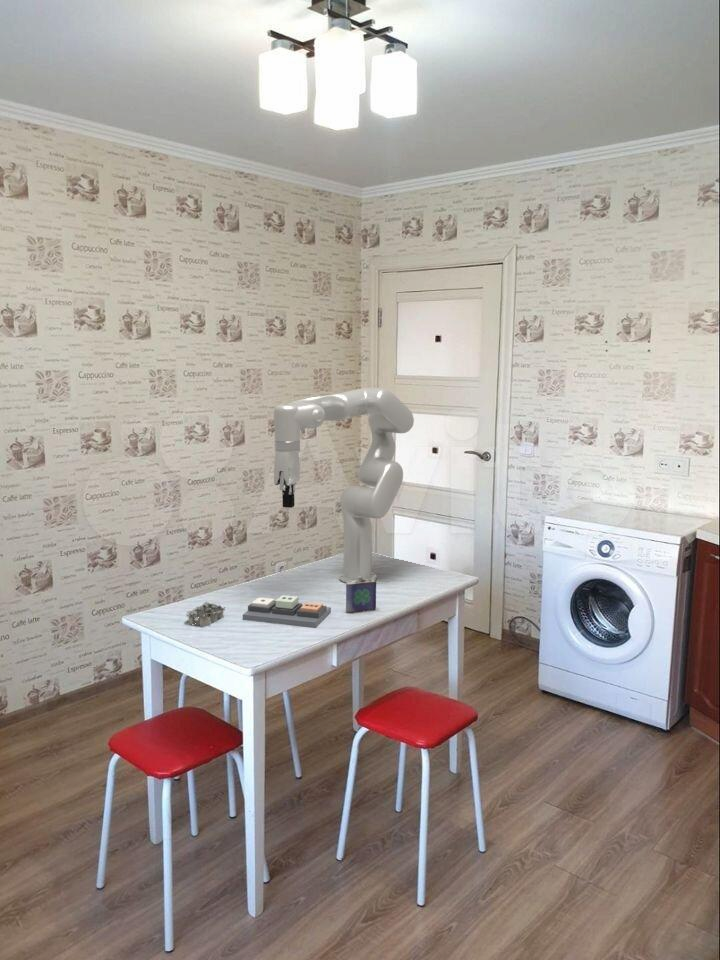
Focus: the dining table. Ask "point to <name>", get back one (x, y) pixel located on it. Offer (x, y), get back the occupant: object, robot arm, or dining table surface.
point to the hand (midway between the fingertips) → (288, 506)
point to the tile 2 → (287, 602)
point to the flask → (361, 595)
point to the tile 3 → (311, 607)
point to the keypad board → (286, 615)
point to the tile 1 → (263, 602)
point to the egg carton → (210, 612)
